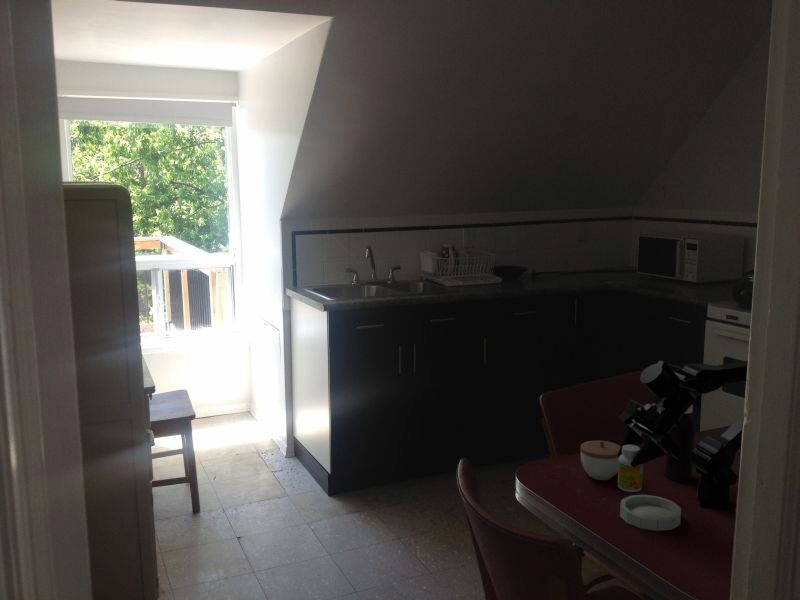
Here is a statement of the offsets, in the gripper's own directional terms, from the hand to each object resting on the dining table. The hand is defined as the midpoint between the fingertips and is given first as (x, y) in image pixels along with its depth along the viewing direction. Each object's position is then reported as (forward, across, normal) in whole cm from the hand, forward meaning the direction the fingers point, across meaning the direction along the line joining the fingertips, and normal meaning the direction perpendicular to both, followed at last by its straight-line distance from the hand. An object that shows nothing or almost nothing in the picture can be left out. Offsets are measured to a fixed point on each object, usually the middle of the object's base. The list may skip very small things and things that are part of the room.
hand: (625, 461), depth 170 cm
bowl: (+6, +3, +12) cm, 14 cm away
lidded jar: (+6, -21, +13) cm, 26 cm away
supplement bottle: (+4, 0, +6) cm, 7 cm away
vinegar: (-8, -16, +27) cm, 32 cm away
